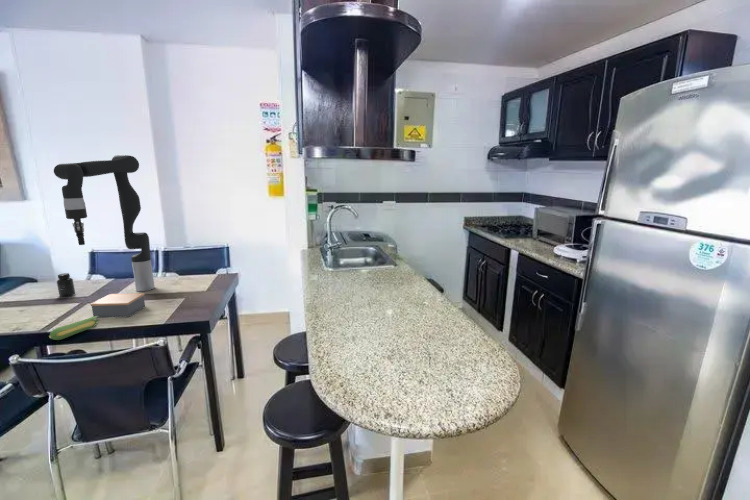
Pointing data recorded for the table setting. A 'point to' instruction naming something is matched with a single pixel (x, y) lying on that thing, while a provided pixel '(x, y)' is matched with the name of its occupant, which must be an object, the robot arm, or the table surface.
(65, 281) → the supplement bottle
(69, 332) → the edible corn
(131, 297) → the panel
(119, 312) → the duct box
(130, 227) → the robot arm
